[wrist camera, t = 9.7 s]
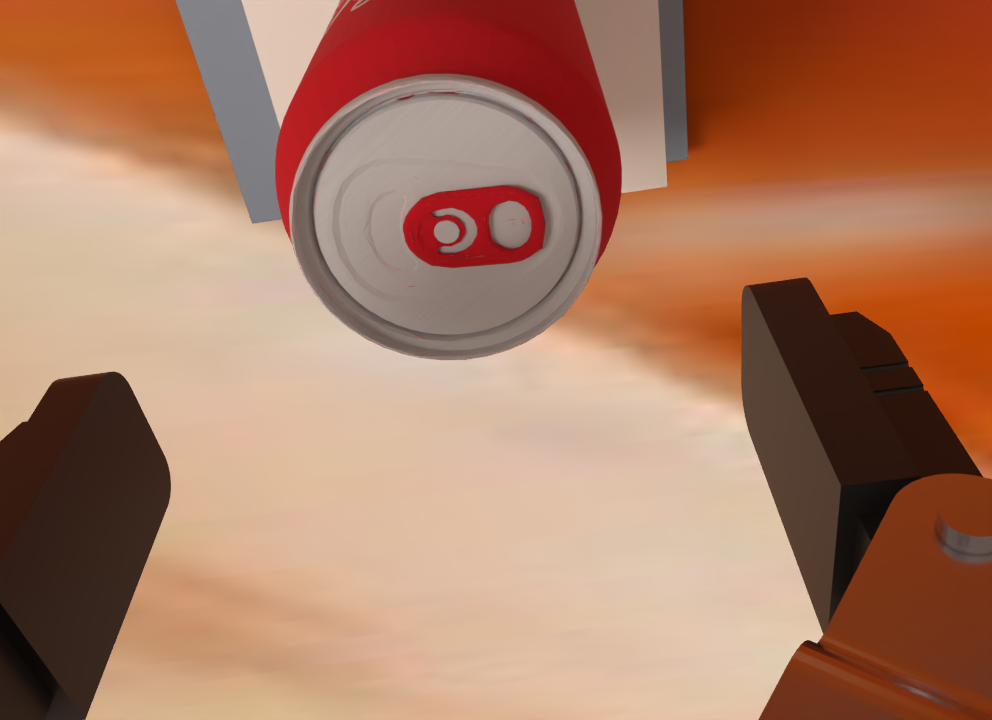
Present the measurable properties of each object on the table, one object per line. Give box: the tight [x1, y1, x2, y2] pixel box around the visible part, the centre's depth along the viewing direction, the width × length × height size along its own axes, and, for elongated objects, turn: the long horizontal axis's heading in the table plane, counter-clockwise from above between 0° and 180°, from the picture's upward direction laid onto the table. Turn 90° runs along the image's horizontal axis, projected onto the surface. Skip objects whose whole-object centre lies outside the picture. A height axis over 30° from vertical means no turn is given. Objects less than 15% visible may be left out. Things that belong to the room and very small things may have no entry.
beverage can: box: [275, 0, 622, 360], centre depth 20 cm, size 6×6×12 cm
